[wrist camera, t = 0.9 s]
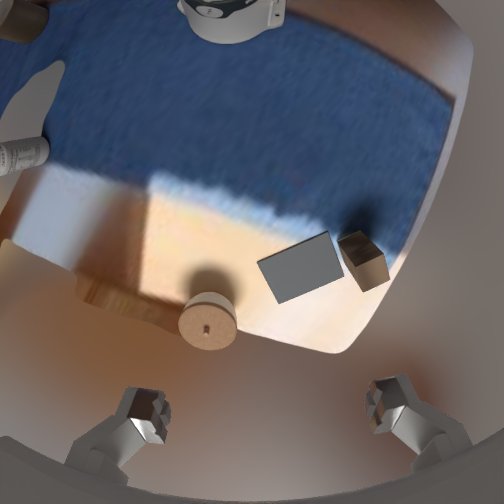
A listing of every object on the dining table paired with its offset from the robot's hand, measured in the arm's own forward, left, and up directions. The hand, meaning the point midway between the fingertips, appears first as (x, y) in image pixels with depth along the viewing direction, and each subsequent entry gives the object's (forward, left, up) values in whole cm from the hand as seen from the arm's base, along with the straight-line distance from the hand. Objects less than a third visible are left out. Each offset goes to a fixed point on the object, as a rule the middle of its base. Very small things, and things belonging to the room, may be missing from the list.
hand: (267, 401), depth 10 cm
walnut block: (+4, +20, -40) cm, 45 cm away
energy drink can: (+1, -46, -40) cm, 61 cm away
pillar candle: (-29, -61, -40) cm, 79 cm away
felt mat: (+11, +12, -40) cm, 44 cm away
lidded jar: (+24, -2, -40) cm, 47 cm away
